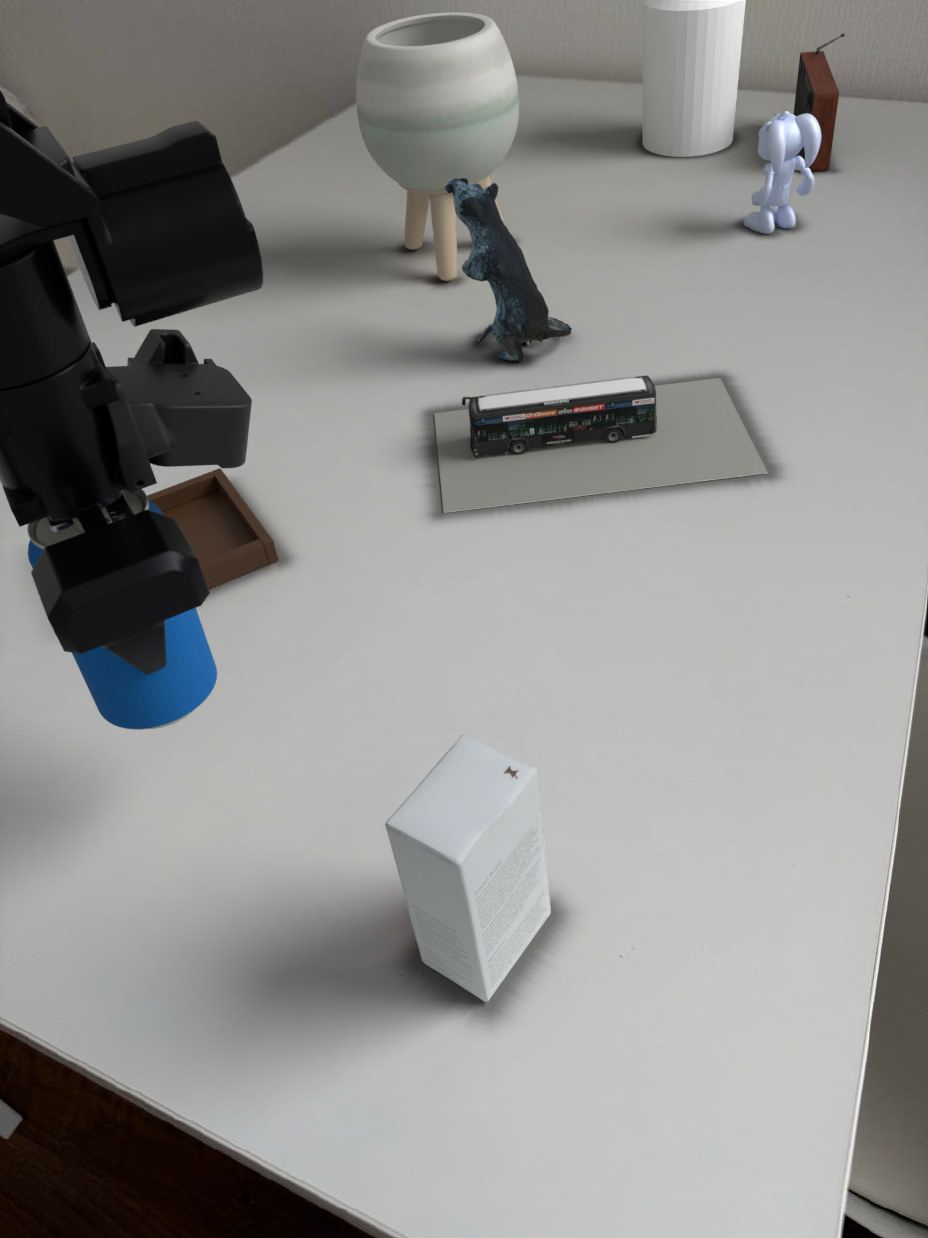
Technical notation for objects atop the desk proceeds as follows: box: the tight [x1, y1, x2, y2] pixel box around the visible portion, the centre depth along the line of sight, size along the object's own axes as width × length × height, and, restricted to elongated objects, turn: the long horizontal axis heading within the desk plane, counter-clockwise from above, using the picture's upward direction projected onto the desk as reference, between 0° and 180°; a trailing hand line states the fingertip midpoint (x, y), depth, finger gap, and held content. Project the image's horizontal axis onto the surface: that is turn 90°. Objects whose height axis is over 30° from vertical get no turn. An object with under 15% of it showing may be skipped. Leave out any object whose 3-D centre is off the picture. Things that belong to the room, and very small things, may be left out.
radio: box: [793, 33, 845, 172], centre depth 121 cm, size 19×3×15 cm, turn 172°
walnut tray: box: [146, 467, 280, 590], centre depth 78 cm, size 14×12×2 cm
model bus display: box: [433, 375, 769, 514], centre depth 83 cm, size 14×25×4 cm, turn 94°
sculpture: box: [445, 178, 573, 362], centre depth 93 cm, size 8×11×15 cm
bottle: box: [642, 0, 747, 158], centre depth 124 cm, size 12×12×25 cm
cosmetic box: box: [384, 734, 552, 1003], centre depth 49 cm, size 6×4×12 cm
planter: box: [355, 11, 520, 282], centre depth 106 cm, size 16×16×22 cm
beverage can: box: [26, 488, 218, 731], centre depth 52 cm, size 6×6×12 cm
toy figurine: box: [743, 110, 821, 235], centre depth 107 cm, size 7×6×12 cm
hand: (137, 629), depth 53 cm, fingers closed on beverage can, 6 cm apart
